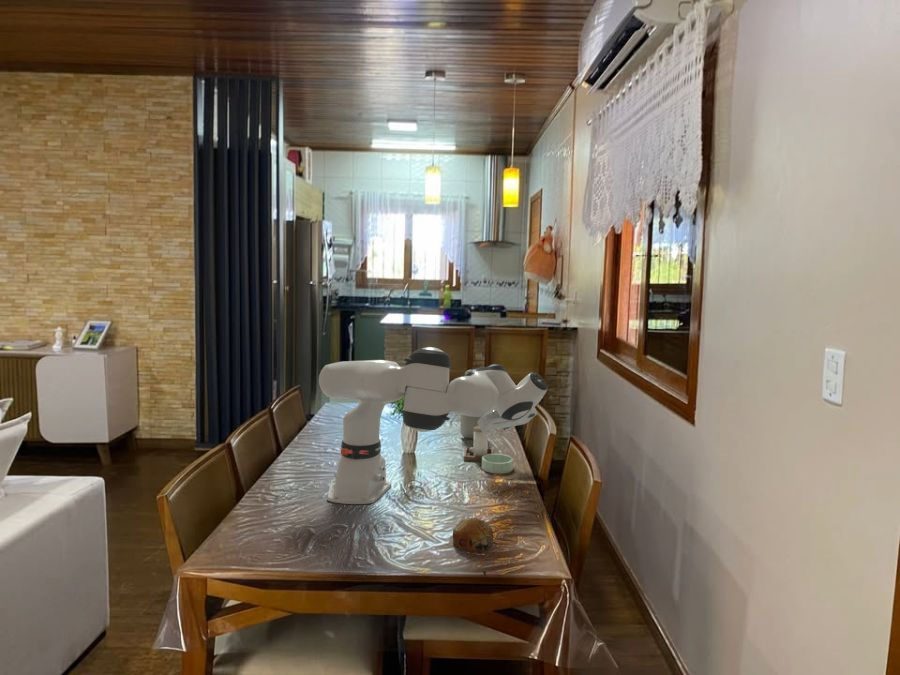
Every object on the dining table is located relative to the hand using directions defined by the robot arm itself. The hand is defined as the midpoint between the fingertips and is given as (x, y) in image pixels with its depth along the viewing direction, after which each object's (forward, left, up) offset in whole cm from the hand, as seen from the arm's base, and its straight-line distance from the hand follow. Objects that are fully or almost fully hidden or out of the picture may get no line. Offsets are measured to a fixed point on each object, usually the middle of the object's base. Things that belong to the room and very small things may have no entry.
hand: (494, 430), depth 210 cm
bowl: (-6, -1, -12) cm, 13 cm away
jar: (+4, +5, -11) cm, 13 cm away
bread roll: (-61, +5, -13) cm, 63 cm away
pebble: (+9, +8, -11) cm, 16 cm away
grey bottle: (+31, +9, -12) cm, 35 cm away
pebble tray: (+6, +5, -12) cm, 15 cm away
